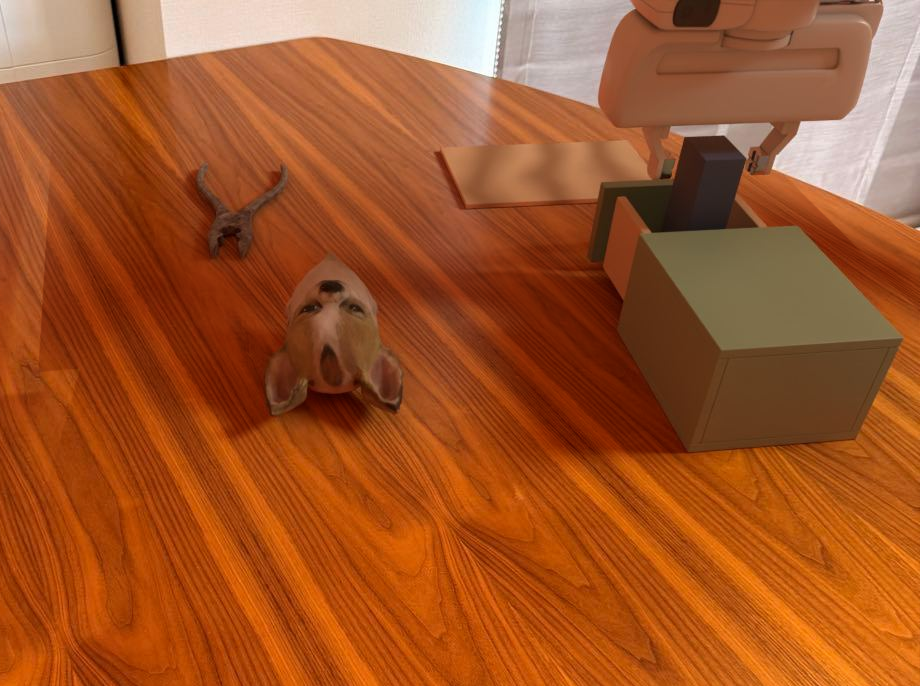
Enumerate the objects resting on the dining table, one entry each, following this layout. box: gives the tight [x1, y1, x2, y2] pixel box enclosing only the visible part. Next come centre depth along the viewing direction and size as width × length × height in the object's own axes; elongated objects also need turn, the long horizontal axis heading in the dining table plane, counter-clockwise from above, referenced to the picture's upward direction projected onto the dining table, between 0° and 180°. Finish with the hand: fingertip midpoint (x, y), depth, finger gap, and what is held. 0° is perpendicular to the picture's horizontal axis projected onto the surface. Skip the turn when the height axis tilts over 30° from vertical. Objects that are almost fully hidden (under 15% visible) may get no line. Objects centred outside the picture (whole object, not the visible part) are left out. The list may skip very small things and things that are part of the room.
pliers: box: [195, 161, 289, 259], centre depth 98 cm, size 10×1×20 cm
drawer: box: [586, 178, 768, 302], centre depth 86 cm, size 20×12×7 cm, turn 9°
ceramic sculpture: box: [262, 251, 404, 418], centre depth 75 cm, size 11×9×15 cm
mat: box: [439, 139, 660, 210], centre depth 106 cm, size 22×14×1 cm, turn 99°
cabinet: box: [616, 225, 904, 454], centre depth 76 cm, size 17×14×9 cm
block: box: [661, 135, 747, 232], centre depth 82 cm, size 4×4×12 cm
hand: (707, 174), depth 80 cm, fingers open, 7 cm apart
